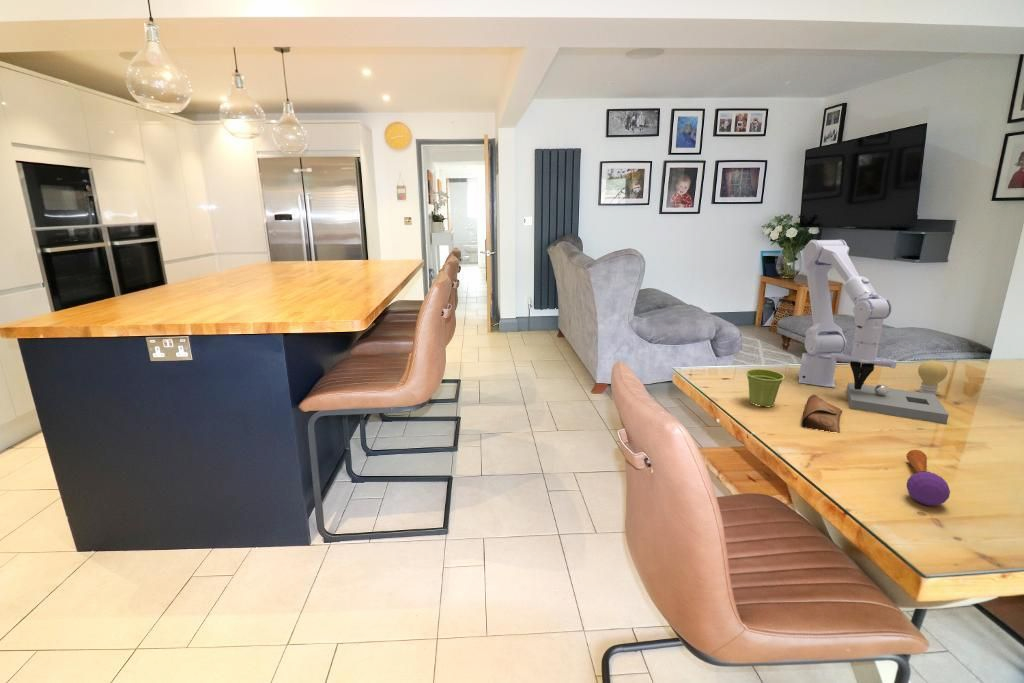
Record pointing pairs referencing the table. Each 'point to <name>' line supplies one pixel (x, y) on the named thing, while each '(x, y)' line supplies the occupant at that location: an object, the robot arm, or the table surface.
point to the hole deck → (898, 403)
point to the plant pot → (763, 386)
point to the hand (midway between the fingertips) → (857, 388)
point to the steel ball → (881, 389)
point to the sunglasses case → (821, 415)
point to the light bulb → (931, 376)
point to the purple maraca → (925, 482)
